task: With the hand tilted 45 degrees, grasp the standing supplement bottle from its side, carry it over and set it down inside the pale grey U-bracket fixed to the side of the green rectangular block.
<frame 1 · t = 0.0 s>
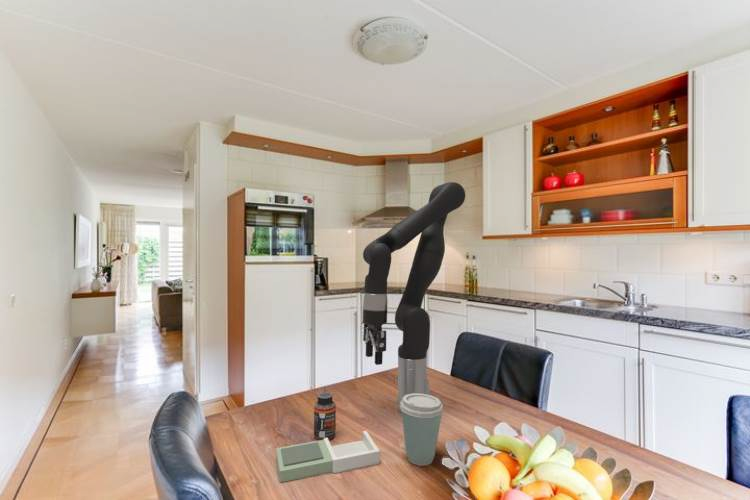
hand: (373, 360, 113), 17 cm above the table, tool pointing down, fingers open, 8 cm apart
green rectangular block: (303, 464, 88), on the table
chute bracket: (350, 455, 92), on the table
disposable coffee cup: (421, 459, 90), on the table
supplement bottle: (324, 436, 101), on the table
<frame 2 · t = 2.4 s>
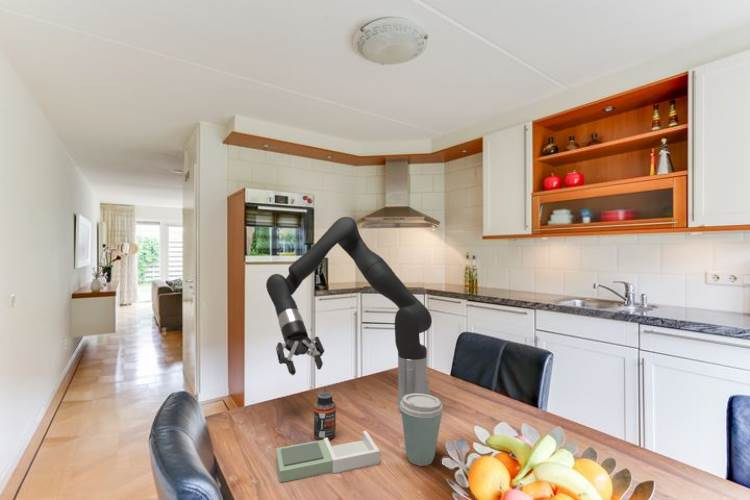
hand: (307, 370, 110), 15 cm above the table, tool tilted 45°, fingers open, 8 cm apart
nothing on the table moved.
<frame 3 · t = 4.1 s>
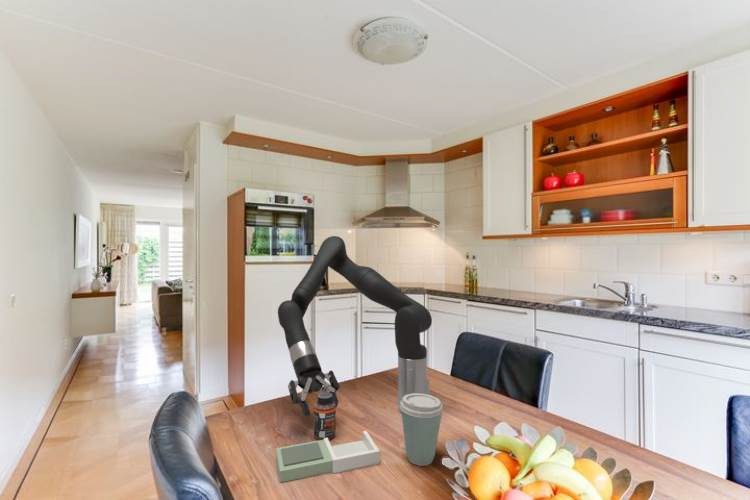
hand: (322, 411, 103), 6 cm above the table, tool tilted 45°, fingers open, 8 cm apart
nothing on the table moved.
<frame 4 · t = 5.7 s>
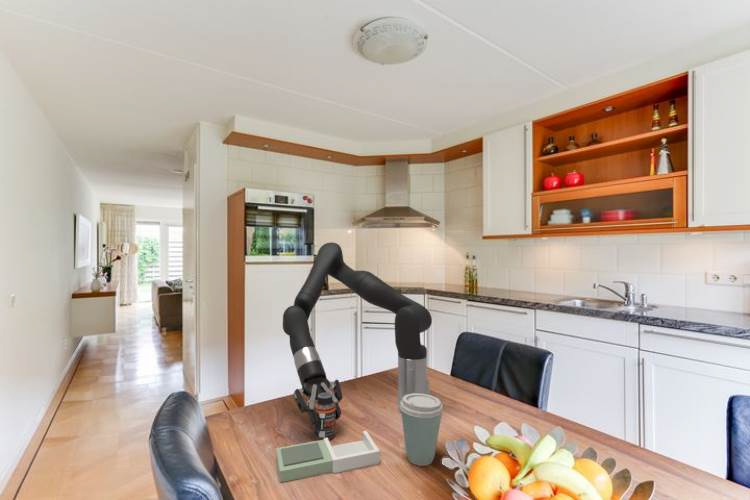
hand: (327, 421, 100), 5 cm above the table, tool tilted 45°, fingers closed on supplement bottle, 6 cm apart
supplement bottle: (324, 436, 101), on the table, touching gripper
everything else where it was.
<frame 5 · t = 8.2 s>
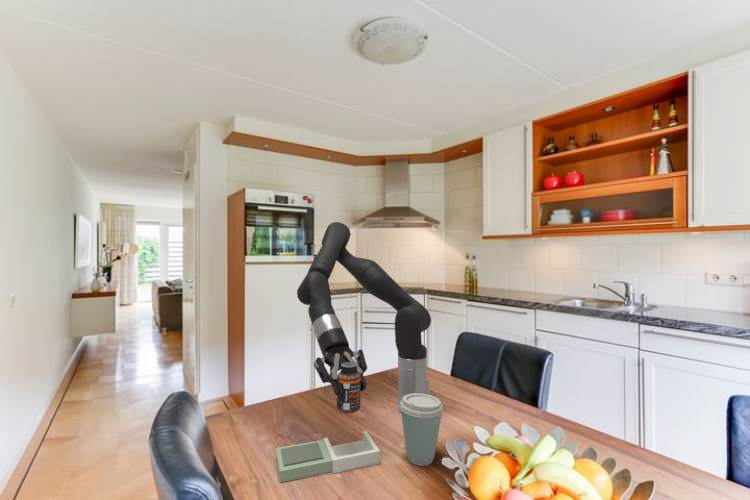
hand: (352, 392, 91), 16 cm above the table, tool tilted 45°, fingers closed on supplement bottle, 6 cm apart
supplement bottle: (348, 410, 92), point 11 cm above the table, touching gripper
everything else where it was.
when the fingers open (6 cm above the table, at t = 11.0 s): supplement bottle drops 1 cm, resting on chute bracket.
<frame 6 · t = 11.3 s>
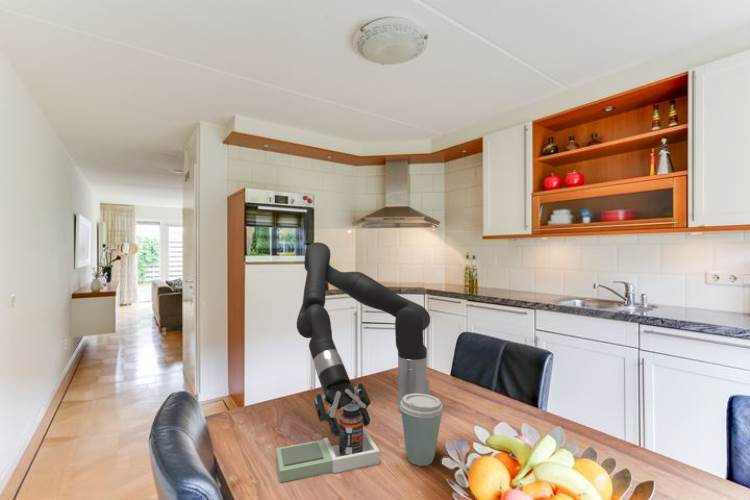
hand: (353, 429, 90), 7 cm above the table, tool tilted 45°, fingers open, 8 cm apart
supplement bottle: (351, 453, 92), resting on chute bracket
everything else where it was.
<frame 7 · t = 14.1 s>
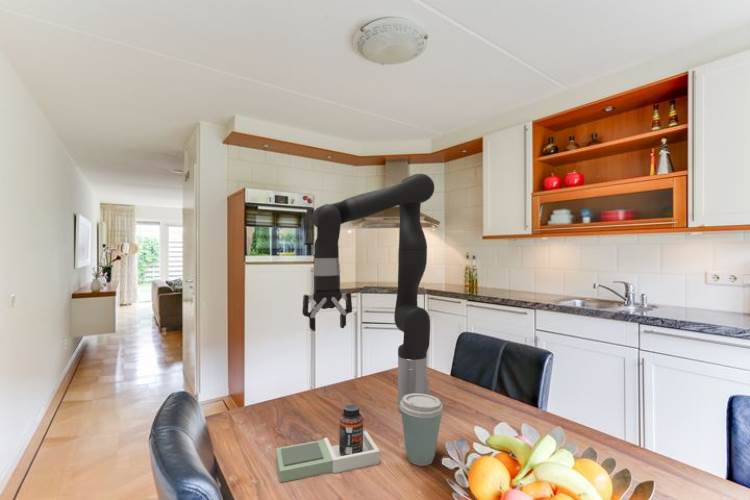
hand: (327, 329, 107), 28 cm above the table, tool pointing down, fingers open, 8 cm apart
nothing on the table moved.
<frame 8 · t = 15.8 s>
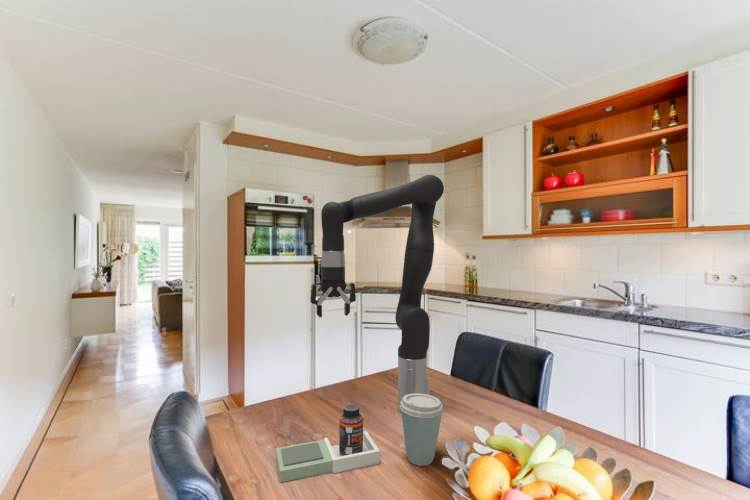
hand: (333, 316, 117), 30 cm above the table, tool pointing down, fingers open, 8 cm apart
nothing on the table moved.
at the end: supplement bottle inside the target area on the chute bracket (0.4 cm from its centre), point 0.4 cm above the chute bracket's base; supplement bottle tilted 0°; the gripper is holding nothing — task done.
